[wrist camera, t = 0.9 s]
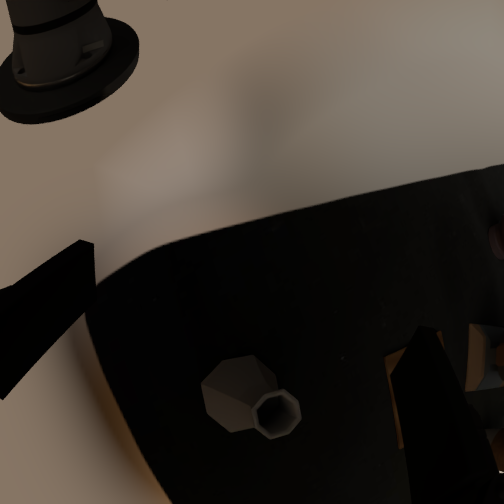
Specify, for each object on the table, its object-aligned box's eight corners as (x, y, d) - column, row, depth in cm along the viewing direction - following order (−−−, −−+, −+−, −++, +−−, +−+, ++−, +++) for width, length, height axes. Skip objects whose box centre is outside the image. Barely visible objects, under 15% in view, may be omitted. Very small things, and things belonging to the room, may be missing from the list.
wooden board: (383, 356, 31) (385, 356, 31) (438, 331, 34) (440, 330, 34) (398, 448, 28) (400, 449, 28) (451, 413, 31) (453, 413, 31)
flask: (292, 405, 27) (346, 425, 18) (226, 443, 25) (255, 485, 16) (255, 341, 28) (298, 336, 19) (186, 378, 26) (195, 395, 17)
